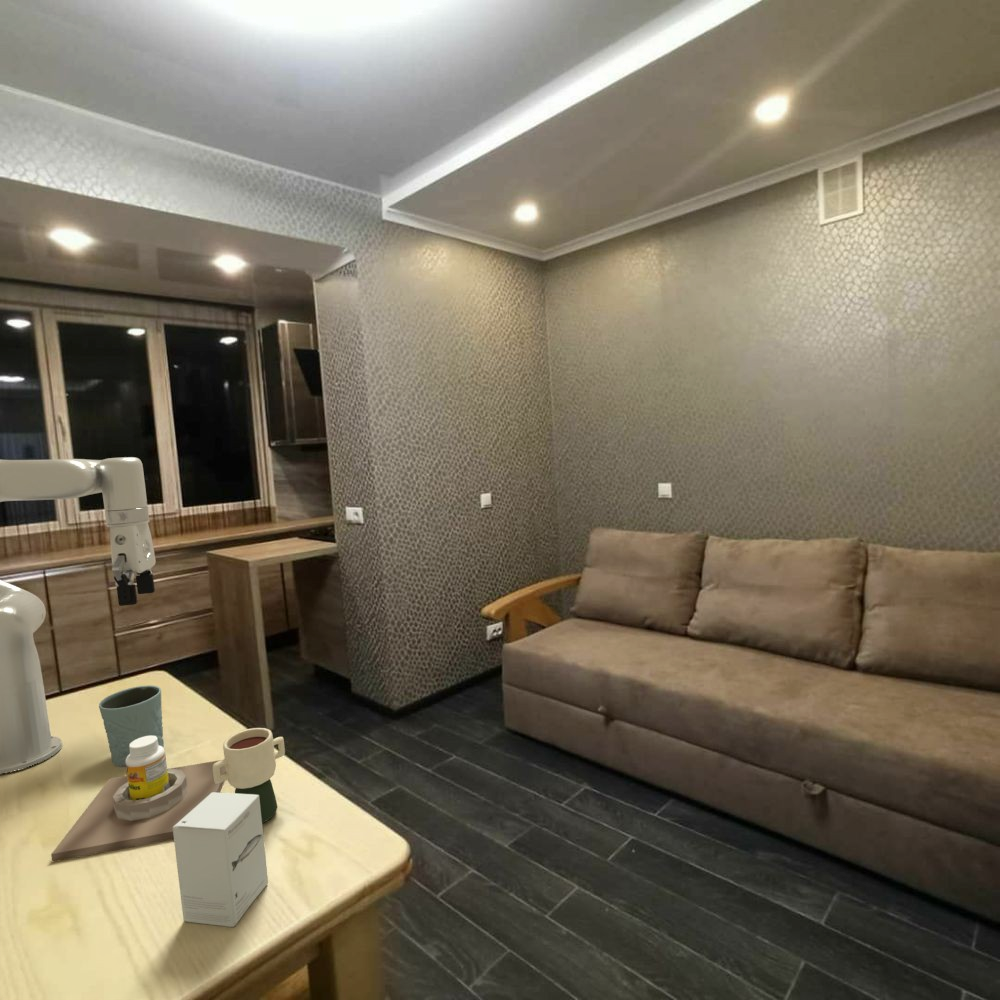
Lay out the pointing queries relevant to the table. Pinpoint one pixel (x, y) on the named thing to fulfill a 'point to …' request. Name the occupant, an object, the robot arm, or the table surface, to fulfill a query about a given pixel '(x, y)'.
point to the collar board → (137, 813)
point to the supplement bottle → (146, 768)
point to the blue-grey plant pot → (131, 719)
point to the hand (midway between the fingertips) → (137, 598)
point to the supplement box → (220, 858)
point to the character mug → (251, 766)
